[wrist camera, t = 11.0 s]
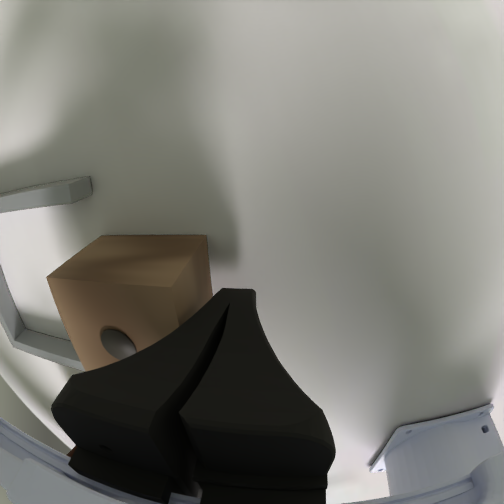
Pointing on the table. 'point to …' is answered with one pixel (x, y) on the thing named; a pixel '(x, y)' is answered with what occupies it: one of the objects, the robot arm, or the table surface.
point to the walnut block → (129, 293)
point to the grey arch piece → (3, 305)
